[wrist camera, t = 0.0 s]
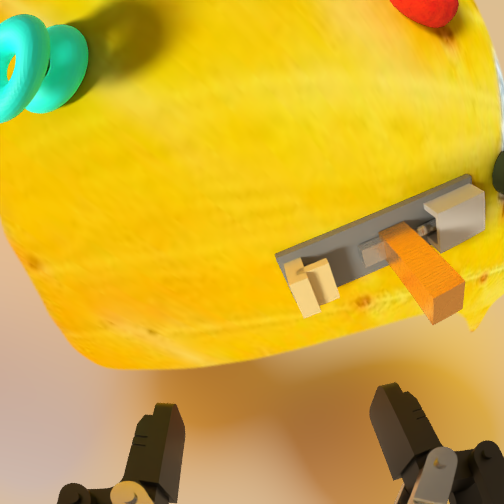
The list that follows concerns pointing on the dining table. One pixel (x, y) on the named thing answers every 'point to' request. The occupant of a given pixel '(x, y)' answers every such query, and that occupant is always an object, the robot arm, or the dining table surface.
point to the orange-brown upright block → (418, 268)
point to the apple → (428, 11)
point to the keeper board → (365, 229)
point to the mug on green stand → (499, 174)
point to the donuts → (39, 65)
